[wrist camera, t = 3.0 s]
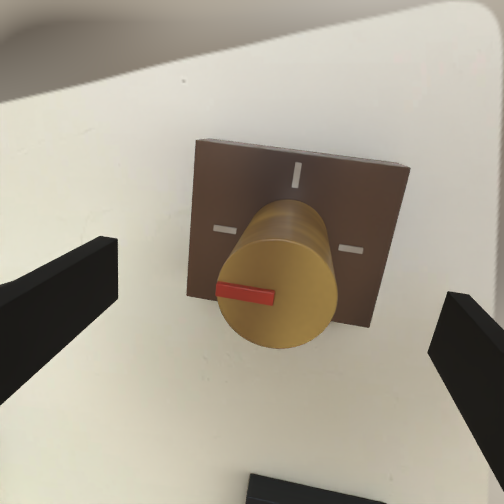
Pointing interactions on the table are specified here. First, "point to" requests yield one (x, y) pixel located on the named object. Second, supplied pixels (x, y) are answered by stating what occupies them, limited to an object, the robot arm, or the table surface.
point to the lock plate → (304, 190)
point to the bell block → (294, 493)
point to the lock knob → (279, 277)
